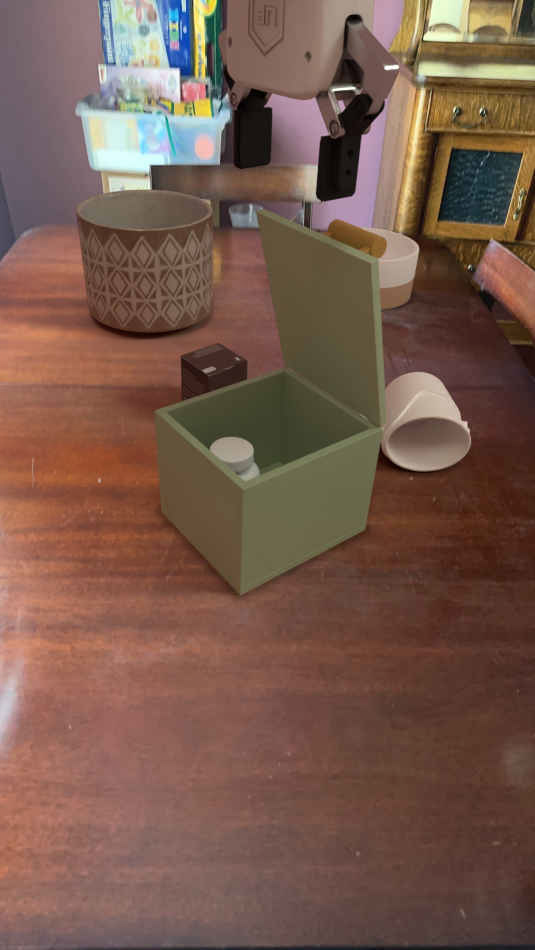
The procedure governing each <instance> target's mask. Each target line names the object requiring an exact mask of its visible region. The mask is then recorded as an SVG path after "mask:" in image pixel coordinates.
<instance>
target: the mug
mask: <svg viewBox="0 0 535 950" xmlns="http://www.w3.org/2000/svg"><path fill="white" fill-rule="evenodd" d="M385 399H386V418H387V423H386V424H384V425H383V426H382V427H380V426H379V427H380V428H381V429H383V431H382V437H381V442H380V447H381V451H382V453H383V455H384V456H385V457H387V458H388V459H389V460H390V461H391V462H392V463H393V464H395V465H396V466H398V467H401V468H402V469H406V470H409V471H413V472H435V471H439V470H440V471H441V470H444V469H447V468H449V467H452V466H453V465H455V464H457V463H458V462H460V461H461V460H462V459H464V457H466V455H467V454H468V453H469V451H470V448H471V445H472V437H471V434H470V433H471V428H469V427H468V420H462V416H461V412H460V410H459V408H458V406H457V404H456V403H455V401H454V399H453V398H452V396H451V395H450V393H449V391H448V390H447V387H446V386H445V384H444V383H443V382H442V381H441V379H440V378H438V377H437V376H435V375H433V374H431V373H429V372H423V371H413V372H408V373H405V374H402V375H400V376H398V377H396V378H394V379H393V380H392V381H391V382H389V384H388V385H387V386H385ZM357 413H358V412H357ZM358 414H360V413H358ZM360 415H361V414H360ZM361 416H363V415H361ZM363 417H364V416H363ZM364 418H366V417H364ZM366 419H367V418H366ZM367 420H369V419H367Z"/></svg>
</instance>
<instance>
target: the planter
mask: <svg viewBox="0 0 535 950" xmlns="http://www.w3.org/2000/svg"><path fill="white" fill-rule="evenodd" d="M75 212H76V213H75V214H76V222H77V229H78V236H79V237H78V238H79V246H80V253H81V261H82V269H83V276H84V278H83V279H84V285H85V293H86V301H87V308H88V311H89V314H90V315H91V316H92V317H93V318H94V319H95V320H96V321H97V322H99V323H101V324H102V325H104V326H107V327H109V328H113V329H117V330H120V331H125V332H126V331H127V332H132V333H165V332H171V331H172V332H173V331H177V330H182V329H185V328H188V327H191V326H193V325H196V324H199V323H200V322H202V321H203V320H204V319H206V318H207V317H208V316H209V315H210V313H211V312H212V310H213V308H214V254H213V253H214V240H213V239H214V238H213V236H214V235H213V234H214V233H213V232H214V231H213V229H214V226H213V225H214V224H213V221H214V220H213V218H214V217H213V216H214V215H213V213H214V212H213V207H212V206H211V204H210V202H209V203H208V202H207V201H206V200H204V199H202V198H201V197H198V196H195V195H192V194H188V193H185V192H184V193H183V192H178V191H172V190H165V189H164V190H163V189H125V190H124V189H123V190H116V191H109V192H104V193H100V194H96V195H93V196H90V197H88V198H86V199H84V200H82V201H81V202H79V204H77V206H76V208H75Z"/></svg>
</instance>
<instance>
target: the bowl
mask: <svg viewBox="0 0 535 950" xmlns="http://www.w3.org/2000/svg"><path fill="white" fill-rule="evenodd" d="M358 227H359V228H362V229H364V230H367V231H369V232H371V233H374V234H376V235H379V236H381V237H384V238H385V239H386V241H387V248H386V251H385V253H384V254H383V256H382V257H381V258H379V259H378V264H379V283H380V302H381V311H383V310H390V309H395V308H398V307H401V306H403V305H404V304H407V302H409V300H410V299H411V296H412V292H413V286H414V280H415V276H416V270H417V265H418V259H419V254H420V246H419V244H418V243H417V242H416V241H415V240H414V239H412V238H411V237H409V236H407V235H404V234H401V233H398V232H395V231H391V230H388V229H382V228H376V227H365V226H364V227H363V226H358ZM325 232H326V231H325ZM325 232H323V233H325Z"/></svg>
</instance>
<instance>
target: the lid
mask: <svg viewBox="0 0 535 950" xmlns="http://www.w3.org/2000/svg"><path fill="white" fill-rule="evenodd" d="M255 214H256V220H257V226H258V231H259V236H260V242H261V246H262V253H263V259H264V264H265V268H266V274H267V279H268V285H269V290H270V296H271V301H272V307H273V312H274V317H275V322H276V328H277V333H278V339H279V345H280V350H281V355H282V361H283V365H285V367H288V368H289V369H291V370H292V371H294V372H296V373H297V374H299V375H300V376H302V377H303V378H305V379H306V380H308V381H309V382H311V383H312V384H314V385H315V386H317V387H318V388H320V389H322V390H323V391H325V392H326V393H328V394H329V395H331V396H332V397H334V398H335V399H337V400H338V401H340V402H341V403H343V404H344V405H346V406H348V407H349V408H351V409H352V410H354V411H355V412H357V413H360V414H361V415H363V416H364V417H366V418H367V419H368V420H369V421H370V422H372V423H374V424H375V425H376V426H378V427H382V426H383V425H384V424H386V423H387V418H386V399H385V389H386V382H385V381H386V379H385V363H384V342H383V325H382V324H383V323H382V310H381V302H380V283H379V264H378V259H379V258H381V257H382V256H383V254H384V253H385V251H386V248H387V241H386V239H385V238H384V237H381V236H379V235H376V234H374V233H371V232H369V231H367V230H364V229H362V228H359V227H360V226H357V225H354V224H351V223H349V222H346V221H344V220H342V219H339V218H336V219H332V220H331V222H330V223H329V224H328V227H327V229H326V231H325V233H324V232H323V233H321V232H318V231H316V230H313V229H311V228H309V227H307V226H305V225H302V224H300V223H298V222H295V221H293V220H291V219H288V218H286V217H284V216H283V215H279V214H277V213H275V212H272V211H270V210H267V209H266V208H261V209H258V210H257V211H256V212H255Z"/></svg>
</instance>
